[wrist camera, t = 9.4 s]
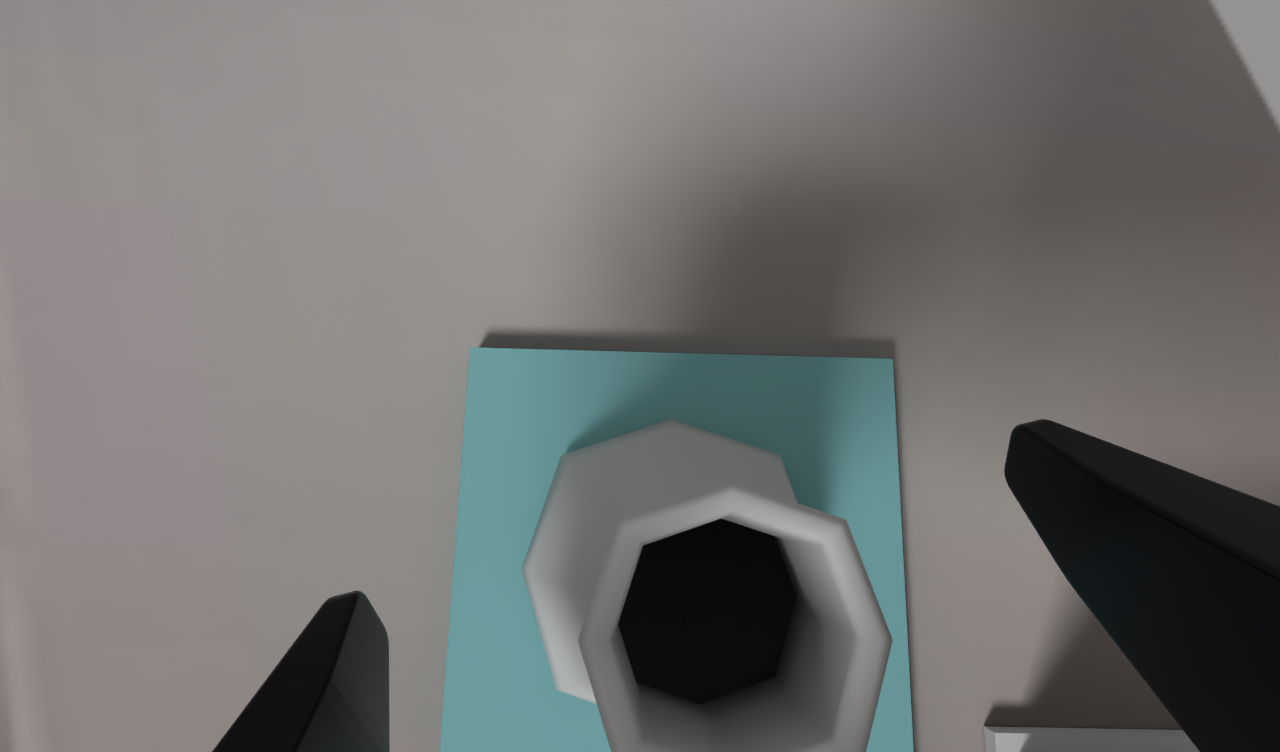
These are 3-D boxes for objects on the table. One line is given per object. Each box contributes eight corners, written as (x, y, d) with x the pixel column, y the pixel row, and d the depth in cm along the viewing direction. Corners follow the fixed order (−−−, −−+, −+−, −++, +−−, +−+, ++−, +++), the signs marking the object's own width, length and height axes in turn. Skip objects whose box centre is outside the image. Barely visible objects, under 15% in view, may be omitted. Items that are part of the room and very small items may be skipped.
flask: (527, 420, 17) (399, 296, 8) (811, 420, 17) (1048, 298, 8) (517, 729, 16) (344, 1074, 6) (827, 726, 16) (1145, 1059, 6)
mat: (907, 815, 16) (917, 827, 16) (441, 808, 16) (434, 819, 15) (884, 363, 18) (892, 358, 18) (475, 352, 18) (469, 347, 18)
